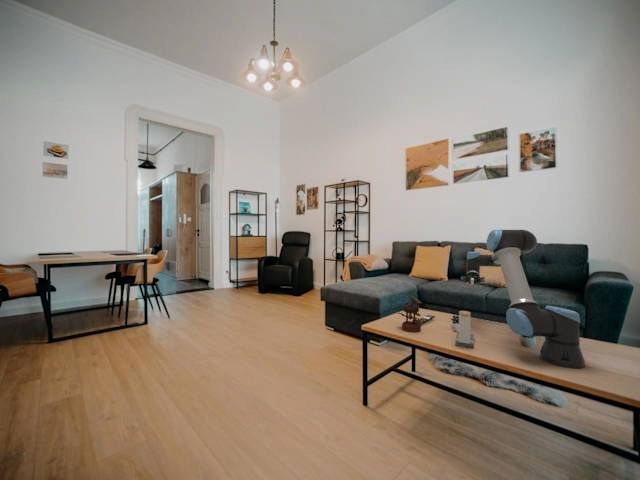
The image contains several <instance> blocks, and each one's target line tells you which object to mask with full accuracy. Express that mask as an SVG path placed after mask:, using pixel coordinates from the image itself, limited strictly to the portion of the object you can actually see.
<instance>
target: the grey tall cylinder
mask: <svg viewBox="0 0 640 480" xmlns="http://www.w3.org/2000/svg"><path fill="white" fill-rule="evenodd" d="M471 316H472V314H471V311H468V310H460V311H458V332H459V342H462V343H468V344H470V334H471Z"/></svg>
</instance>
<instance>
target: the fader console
mask: <svg viewBox="0 0 640 480" xmlns="http://www.w3.org/2000/svg"><path fill="white" fill-rule="evenodd" d="M474 339H475V334H474V333H470V344H468V343H462V342H459V331H457V333H456V338H455V341H454V342H455V345H454V346H455V347H460V348H466V349H472V350H473V349H474V342H475V340H474Z"/></svg>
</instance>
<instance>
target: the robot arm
mask: <svg viewBox="0 0 640 480" xmlns="http://www.w3.org/2000/svg"><path fill="white" fill-rule="evenodd" d="M537 245H538V240H537V237H536V235H534V233H533V232H531V231H529V230H526V229H502V228H501V229H500V228H499V229H492V230H491V231H490V232H489V233H488V235H487V238H486V249H487V251H488V252H491V253H492V252H493V254H481V252H480V251H468V252H466V253H467V254H466V275H460V280H461V281H463V282H465V283H468V284H470V285H475V284H480V283H484V282H486V277H485V276H481V274H480V271H481V270H480V269H481V267H489V268H491V267H492V268H493V267H495V268H501V272H502V275H503V277H504V278H503V279H504V282H505V285H506V288H507V292H508V296H509V299H510V302H511V303H510V305H509V306H508V309H507V310H506V313H505V315H506V317H505V319H506V322H507V326H508V327H509V329H510V330H511V331H512V332H513V333H514V334H515V335H518V336H523V337H524V336H526V337H543V338H544V342H543V344H542V346H541V349H540V350H539V357H540V358H541V359H542V360H543V361H545V362H548V363H551V364H553V365H556V366H560V367H564V368H565V367H566V368H571V369H582V368H585V367H586V360H585V357H584V355H583V351H582V350H581V347H580V346H581V345H580V343H581V342H580V337H581V335H580V334H581V333H580V329H581V328H580V327H581V319H580V316H581V315H580V314H579V312H577V311H575V310H572V309H567V308H564V307H559V306H555V305H554V306H553V305H546V306H545V307H544V309H541V307H540V306H541V305H540V303H539V302H537V301H535V300H534V298H533V295H532V291H531V290H530V289H531V288H530V286H529V282H528V279H527V277H526V274H525V270H524V267H523V265H522V261H521V258H520V255H527V254H528V253H531V252H532V251H534V250H535V249H536V247H537Z"/></svg>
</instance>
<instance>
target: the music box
mask: <svg viewBox="0 0 640 480" xmlns="http://www.w3.org/2000/svg"><path fill="white" fill-rule="evenodd" d="M409 299H410V303H407V304H406V303H405V304H403V305H402V310H403V312H404V313H405V314H406V315H405V314H404V313H403V312H401V313H400V312H397V314H398V315H401V316H402V317H405V321H403V322H402V325H401V329H402V330H403V331H404V332H406V333H407V332H408V333H413V334H414V333H420V332H421V331H422V325H421V324H422V323H421V322H422V321H421V320H420V318H419V317H421V313H419V312H420V307H419V306H420V305H419V304H423V302H422V301H420V300H419V299H418V298H416V297H414V295H411V296H410V297H409ZM413 303H415V304H413ZM417 304H418V305H417ZM417 316H418V317H417ZM410 320H412V321H410Z"/></svg>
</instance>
